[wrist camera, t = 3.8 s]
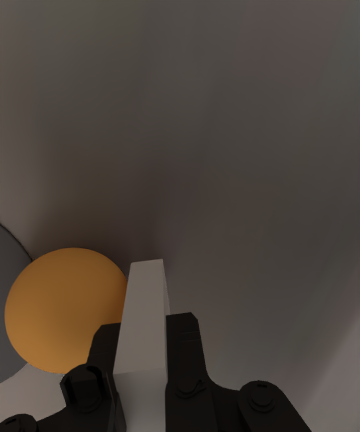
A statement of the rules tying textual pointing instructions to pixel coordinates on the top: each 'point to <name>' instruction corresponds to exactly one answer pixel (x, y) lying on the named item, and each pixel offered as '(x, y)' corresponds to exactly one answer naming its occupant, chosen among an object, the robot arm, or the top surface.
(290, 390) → the top surface
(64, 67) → the top surface
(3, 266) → the disc
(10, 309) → the ball
